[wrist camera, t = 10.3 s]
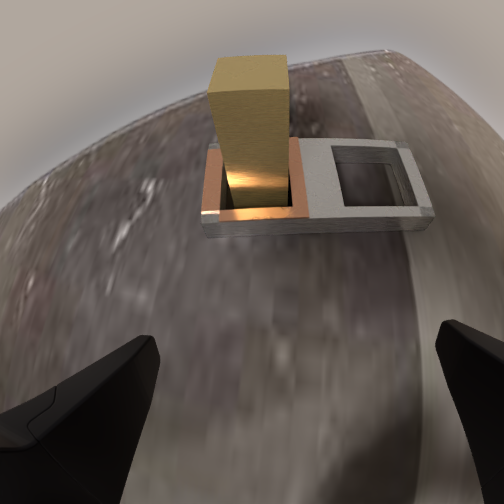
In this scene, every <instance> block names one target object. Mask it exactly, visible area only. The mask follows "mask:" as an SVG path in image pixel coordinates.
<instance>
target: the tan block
mask: <svg viewBox="0 0 504 504" xmlns="http://www.w3.org/2000/svg"><path fill="white" fill-rule="evenodd" d="M207 95H208V99H209V104H210V108H211V112H212V116H213V120H214V124H215V129H216V133H217V137H218V141H219V145H220V149H221V154H222V158H223V162H224V166H225V170H226V174H227V178H228V182H229V187H230V191H231V195H232V199H233V203H234V207H235V209H251V208H272V207H287V205H288V169H289V80H288V68H287V57H286V55H254V56H237V57H224V58H218V60H217V63H216V66H215V69H214V72H213V75H212V78H211V82H210V84H209V88H208V91H207Z"/></svg>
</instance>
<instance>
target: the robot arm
mask: <svg viewBox="0 0 504 504" xmlns="http://www.w3.org/2000/svg"><path fill="white" fill-rule="evenodd" d="M435 347H436V351H437V354H438V357H439V360H440V363H441V366H442V370H443V373H444V376H445V379H446V382H447V386H448V388H449V391H450V393H451V396H452V398H453V401H454V403H455V406H456V409H457V411H458V414H459V417H460V419H461V422H462V425H463V428H464V431H465V434H466V437H467V440H468V443H469V446H470V449H471V452H472V456H473V459H474V463H475V466H476V470H477V473H478V477H479V481H480V485H481V487H482V488H481V490H482V494H483V499H484V504H504V342H502V341H500V340H498V339H495V338H493V337H491V336H489V335H487V334H485V333H482V332H480V331H478V330H476V329H474V328H472V327H469V326H467V325H465V324H463V323H461V322H458V321H456V320H454V319H451V320H446V321H443V322H442V323H441V326H440V329H439V332H438V336H437V339H436V343H435ZM159 366H160V355H159V352H158V348H157V345H156V342H155V339H154V337H153V336H150V335H140V336H138V337H136V338H135V339H133V340H131V341H130V342H128V343H126V344H125V345H123V346H121V347H120V348H118V349H116V350H115V351H113V352H111V353H110V354H108V355H106V356H105V357H103V358H101V359H100V360H98V361H96V362H95V363H93V364H91V365H90V366H88V367H86V368H85V369H83V370H81V371H80V372H78V373H76V374H74V375H73V376H71V377H69V378H68V379H66V380H64V381H63V382H61V383H59V384H58V385H57V386H54V387H52V388H51V389H49V390H47V391H46V392H44V393H42V394H40V395H38V396H37V397H35V398H33V399H31V400H29V401H27V402H25V403H23V404H21V405H18V406H16V407H14V408H12V409H10V410H8V411H5V412H3V413H1V414H0V504H120V501H121V497H122V494H123V490H124V487H125V483H126V480H127V477H128V474H129V470H130V467H131V464H132V461H133V457H134V454H135V451H136V448H137V445H138V442H139V439H140V436H141V433H142V429H143V426H144V423H145V420H146V418H147V415H148V412H149V409H150V405H151V402H152V398H153V393H154V388H155V384H156V379H157V375H158V370H159Z"/></svg>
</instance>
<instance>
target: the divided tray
mask: <svg viewBox="0 0 504 504" xmlns="http://www.w3.org/2000/svg"><path fill="white" fill-rule="evenodd" d="M335 163H378V164H391V167H392V169H393V172H394V175H395V178H396V181H397V184H398V187H399V190H400V193H401V196H402V199H403V202H404V206H355V207H344V202H343V197H342V192H341V188H340V183H339V179H338V174H337V170H336V166H335ZM289 174H290V184H291V193H292V204H293V207H272V208H251V209H233V210H226V194H227V174H226V170H225V166H224V162H223V158H222V154H221V149H220V145H219V143H213V144H209V150H208V154H207V162H206V171H205V179H204V189H203V198H202V208H201V212H202V216H201V225H202V227H203V229H204V232H205V234H206V236H207V238H219V237H239V236H261V235H285V234H310V233H338V232H370V231H409V230H425V229H426V228H427V227H428V225H429V224H430V223H431V222H432V220H433V219H434V218H435V213H434V210H433V207H432V204H431V201H430V198H429V196H428V193H427V190H426V187H425V185H424V182H423V180H422V177H421V174H420V172H419V170H418V167H417V165H416V162H415V160H414V158H413V155H412V153H411V151H410V148H409V146H408V144H407V142H400V141H387V140H370V139H343V138H298V137H289Z"/></svg>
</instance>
